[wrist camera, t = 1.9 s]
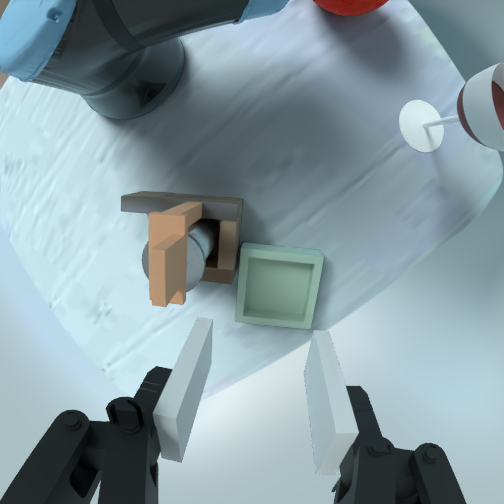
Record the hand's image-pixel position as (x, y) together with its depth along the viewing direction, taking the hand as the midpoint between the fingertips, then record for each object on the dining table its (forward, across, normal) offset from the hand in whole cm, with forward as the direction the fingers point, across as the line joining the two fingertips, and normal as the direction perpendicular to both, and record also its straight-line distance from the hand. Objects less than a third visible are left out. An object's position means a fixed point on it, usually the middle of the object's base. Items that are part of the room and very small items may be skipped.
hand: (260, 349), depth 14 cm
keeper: (+18, -8, +1) cm, 20 cm away
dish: (+25, +2, -6) cm, 26 cm away
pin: (+24, -8, 0) cm, 25 cm away
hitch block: (+25, -10, 0) cm, 27 cm away
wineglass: (+25, +20, +18) cm, 36 cm away
